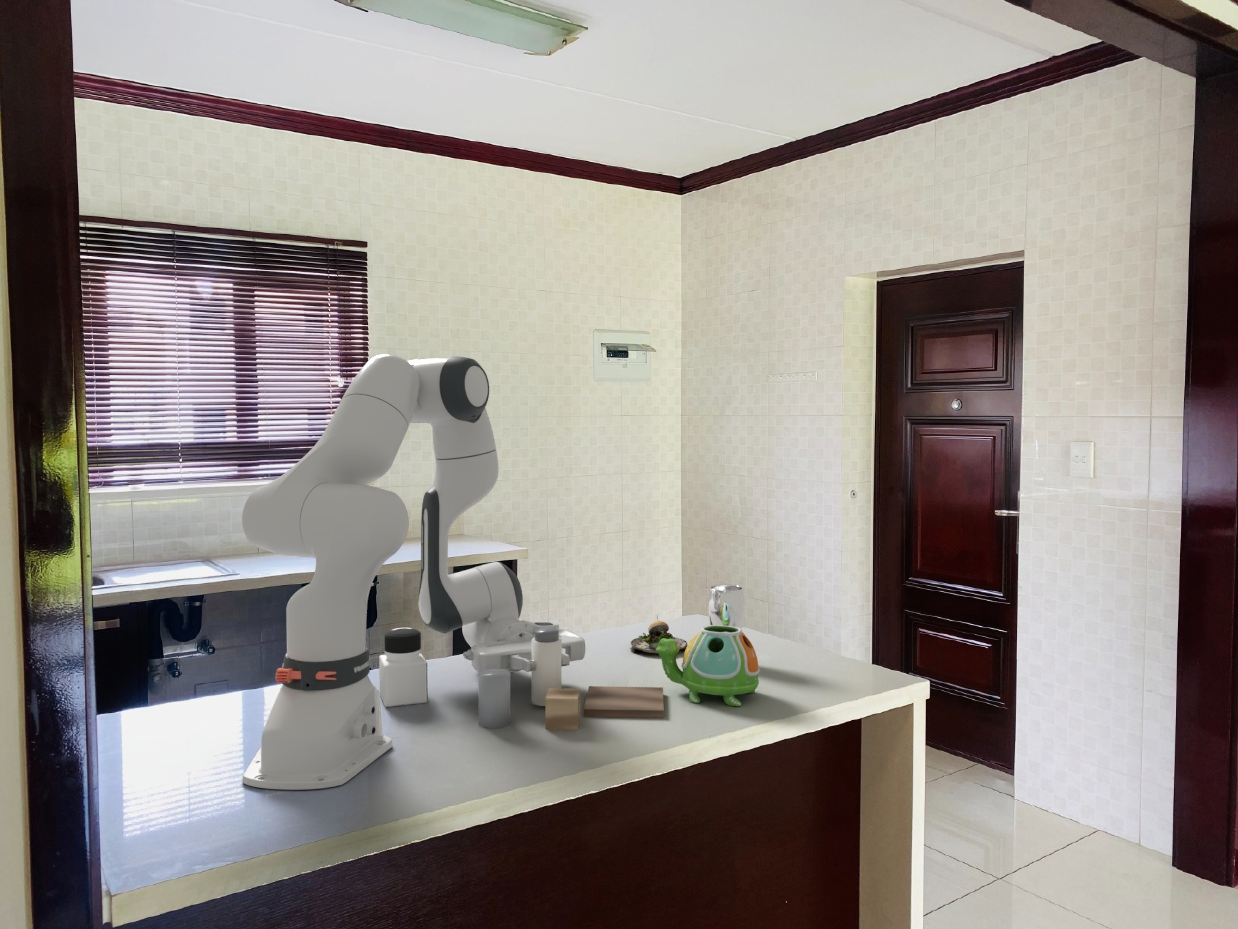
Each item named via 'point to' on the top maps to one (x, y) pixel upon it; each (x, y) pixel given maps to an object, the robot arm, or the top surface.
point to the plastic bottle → (546, 663)
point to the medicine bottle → (403, 669)
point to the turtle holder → (713, 663)
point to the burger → (655, 638)
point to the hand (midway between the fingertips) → (549, 664)
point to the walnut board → (624, 702)
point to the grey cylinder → (494, 698)
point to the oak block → (562, 709)
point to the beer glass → (726, 605)
